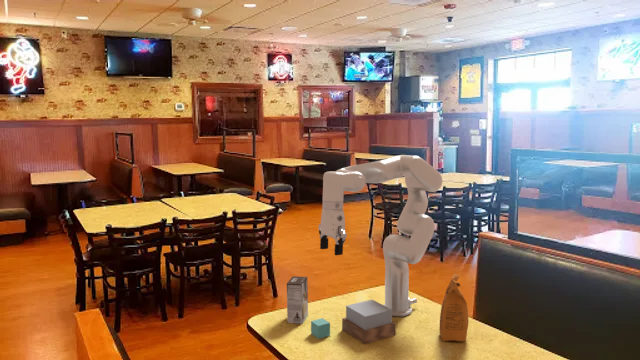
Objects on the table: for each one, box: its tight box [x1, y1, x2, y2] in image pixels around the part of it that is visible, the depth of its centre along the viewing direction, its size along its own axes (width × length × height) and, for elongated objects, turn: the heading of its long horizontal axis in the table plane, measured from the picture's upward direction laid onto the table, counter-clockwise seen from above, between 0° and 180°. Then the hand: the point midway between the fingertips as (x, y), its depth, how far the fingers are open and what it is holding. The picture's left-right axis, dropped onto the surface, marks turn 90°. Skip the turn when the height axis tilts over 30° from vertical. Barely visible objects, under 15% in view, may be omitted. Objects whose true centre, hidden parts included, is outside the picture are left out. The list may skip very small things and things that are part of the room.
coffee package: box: [439, 273, 469, 342], centre depth 176 cm, size 10×12×22 cm
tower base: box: [341, 317, 397, 345], centre depth 180 cm, size 14×14×5 cm
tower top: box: [345, 299, 393, 330], centre depth 180 cm, size 12×12×5 cm
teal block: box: [310, 317, 331, 340], centre depth 179 cm, size 5×5×5 cm
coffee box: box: [286, 275, 309, 325], centre depth 192 cm, size 9×6×16 cm
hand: (331, 251), depth 179 cm, fingers open, 9 cm apart
